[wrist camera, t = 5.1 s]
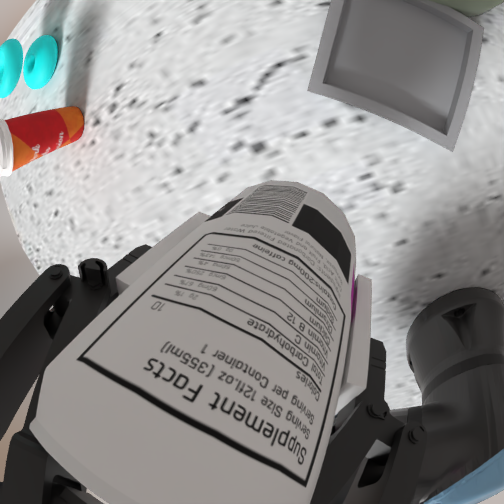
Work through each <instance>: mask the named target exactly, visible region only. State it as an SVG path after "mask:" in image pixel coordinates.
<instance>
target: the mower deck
mask: <svg viewBox="0 0 504 504" xmlns="http://www.w3.org/2000/svg"><path fill="white" fill-rule="evenodd" d="M503 2H504V0H331V3H330V7H329V11H328V15H327V18H326V22H325V26H324V30H323V34H322V37H321V41H320V45H319V49H318V53H317V56H316V60H315V64H314V68H313V71H312V75H311V79H310V82H309V86H308V90H307V91H310V92H313V93H316V94H319V95H323V96H326V97H329V98H332V99H335V100H338V101H341V102H344V103H347V104H350V105H353V106H355V107H358V108H361V109H363V110H366V111H368V112H371V113H373V114H376V115H378V116H381V117H383V118H385V119H388V120H390V121H392V122H395V123H397V124H399V125H401V126H403V127H405V128H408V129H410V130H412V131H414V132H416V133H418V134H420V135H422V136H424V137H426V138H428V139H430V140H431V141H433V142H435V143H437V144H439V145H441V146H443V147H444V148H446V149H448V150H450V151H452V152H453V150H454V147H455V144H456V141H457V138H458V136H459V133H460V130H461V127H462V124H463V120H464V117H465V114H466V111H467V107H468V104H469V100H470V96H471V92H472V89H473V85H474V80H475V76H476V71H477V67H478V62H479V56H480V51H481V44H482V38H483V30H484V27H482V26H481V25H479V24H478V23H476V22H474V21H473V20H471V19H470V18H468V17H471V16H477V15H481V14H483V13H485V12H487V11H489V10H491V9H492V8H494V7H496V6H497V5H499V4H501V3H503Z"/></svg>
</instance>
